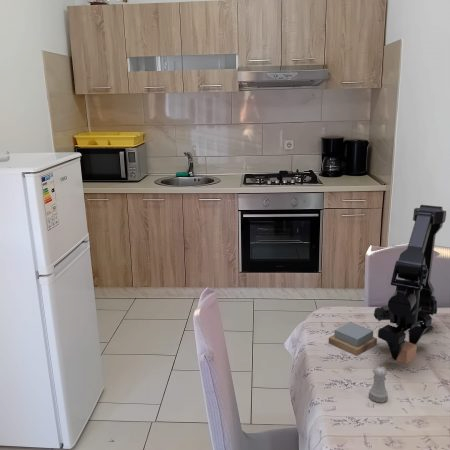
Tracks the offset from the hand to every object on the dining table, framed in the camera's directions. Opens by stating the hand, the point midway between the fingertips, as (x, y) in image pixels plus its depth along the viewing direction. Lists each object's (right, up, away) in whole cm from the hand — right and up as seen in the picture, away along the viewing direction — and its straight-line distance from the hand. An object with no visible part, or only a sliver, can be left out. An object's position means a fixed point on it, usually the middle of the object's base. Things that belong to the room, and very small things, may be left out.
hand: (403, 353), depth 132 cm
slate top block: (-12, +3, +8) cm, 14 cm away
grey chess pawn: (-13, -6, -18) cm, 23 cm away
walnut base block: (-12, 0, +8) cm, 15 cm away
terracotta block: (0, -1, 0) cm, 1 cm away
